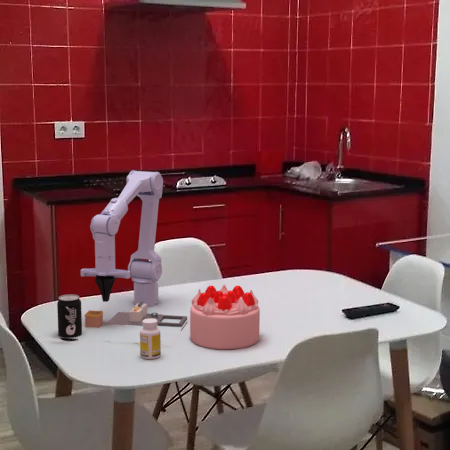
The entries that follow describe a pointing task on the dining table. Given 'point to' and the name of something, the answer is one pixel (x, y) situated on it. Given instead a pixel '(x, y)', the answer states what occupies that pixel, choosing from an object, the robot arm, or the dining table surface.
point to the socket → (180, 324)
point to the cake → (224, 318)
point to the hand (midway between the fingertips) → (106, 300)
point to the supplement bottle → (150, 339)
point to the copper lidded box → (94, 319)
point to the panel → (124, 318)
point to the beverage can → (69, 317)
